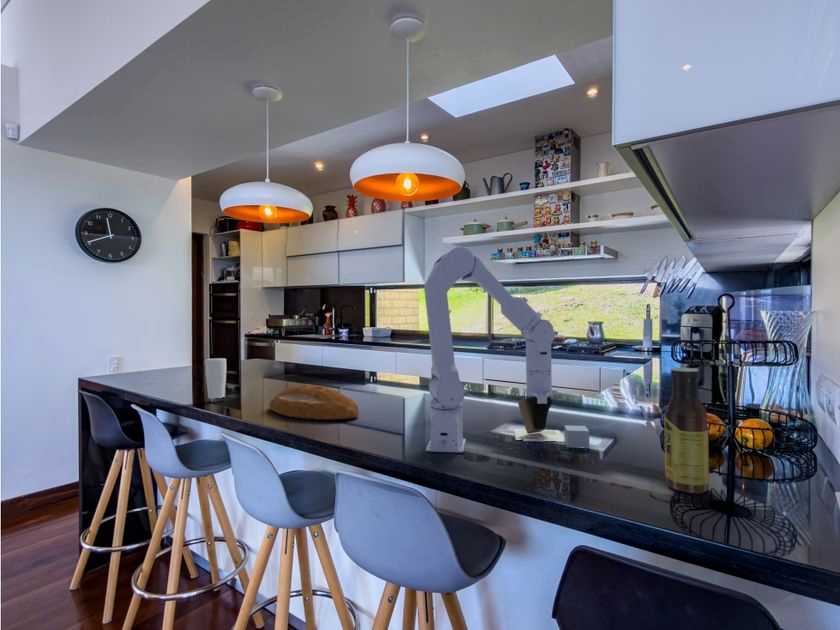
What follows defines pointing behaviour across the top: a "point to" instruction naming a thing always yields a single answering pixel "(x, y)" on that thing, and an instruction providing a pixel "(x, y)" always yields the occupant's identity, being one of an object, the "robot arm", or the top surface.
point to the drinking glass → (215, 377)
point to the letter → (539, 435)
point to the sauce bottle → (686, 435)
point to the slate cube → (576, 436)
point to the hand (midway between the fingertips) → (539, 428)
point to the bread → (314, 403)
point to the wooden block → (528, 417)
